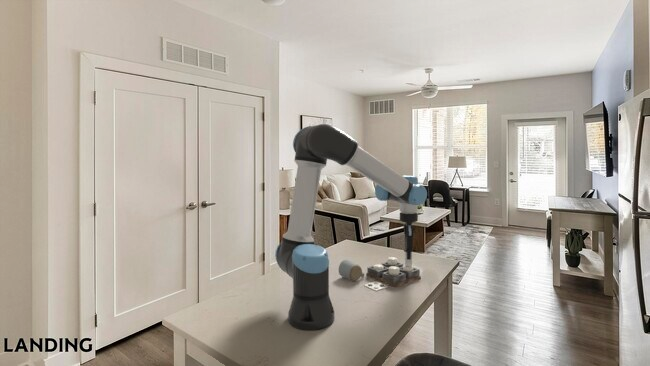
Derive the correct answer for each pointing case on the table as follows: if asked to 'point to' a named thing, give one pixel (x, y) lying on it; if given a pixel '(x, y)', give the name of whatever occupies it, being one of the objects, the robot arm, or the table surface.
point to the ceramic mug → (350, 270)
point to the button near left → (378, 267)
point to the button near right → (394, 271)
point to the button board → (390, 280)
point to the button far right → (407, 268)
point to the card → (376, 286)
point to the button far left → (392, 261)
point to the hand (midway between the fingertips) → (408, 265)
